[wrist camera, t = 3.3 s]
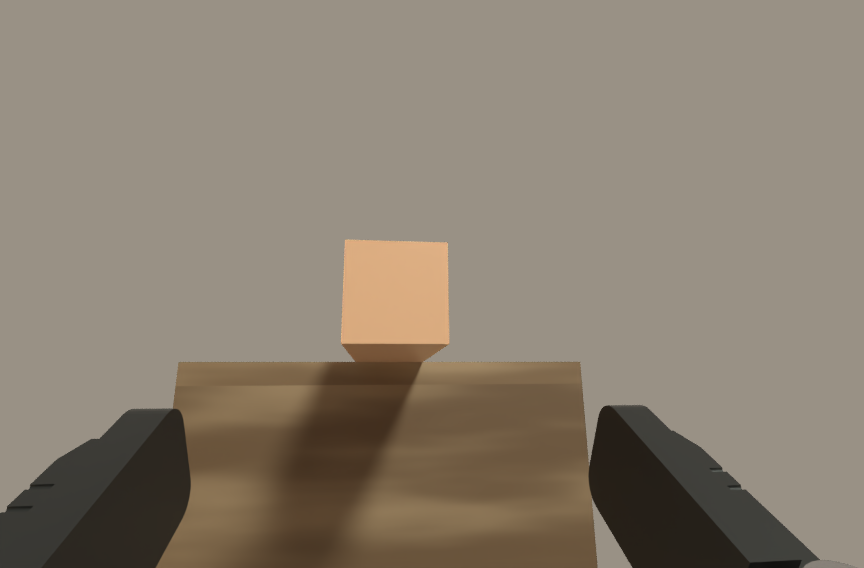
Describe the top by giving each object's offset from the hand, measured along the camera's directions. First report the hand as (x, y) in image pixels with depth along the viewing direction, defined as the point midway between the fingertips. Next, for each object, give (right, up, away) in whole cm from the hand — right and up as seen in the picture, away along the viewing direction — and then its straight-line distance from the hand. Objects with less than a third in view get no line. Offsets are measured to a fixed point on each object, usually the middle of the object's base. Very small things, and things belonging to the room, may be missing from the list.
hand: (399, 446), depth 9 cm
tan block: (-2, -1, +13) cm, 13 cm away
